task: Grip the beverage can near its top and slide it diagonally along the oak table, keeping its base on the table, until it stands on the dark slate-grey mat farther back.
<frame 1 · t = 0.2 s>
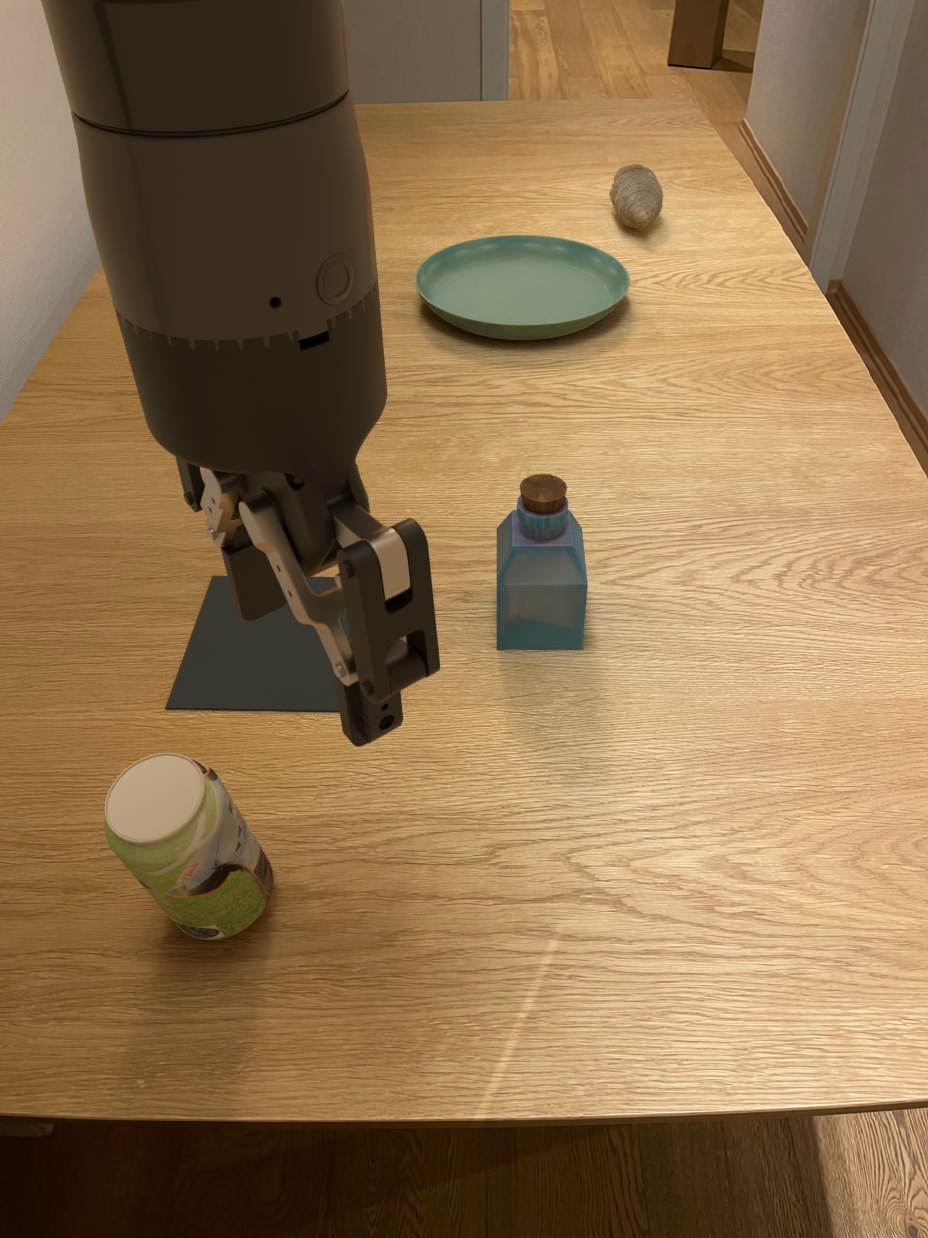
hand: (315, 666, 39), 22 cm above the table, tool pointing down, fingers open, 8 cm apart
saucer: (521, 304, 112), on the table
decorative egg: (282, 370, 102), on the table
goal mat: (284, 639, 72), on the table
seashell: (635, 222, 129), on the table
perfume bottle: (538, 621, 73), on the table
beverage can: (216, 909, 56), on the table
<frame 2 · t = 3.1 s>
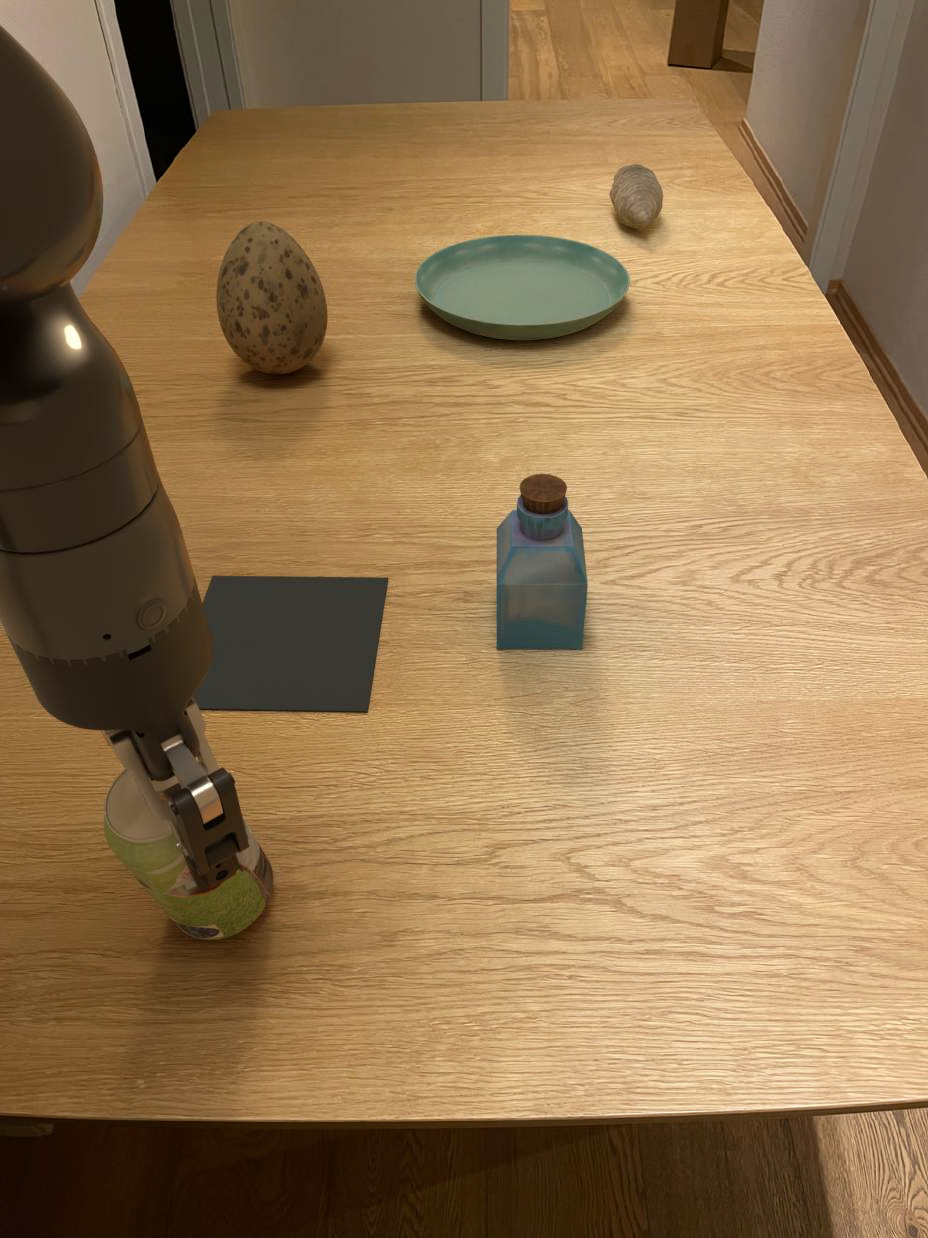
hand: (188, 832, 50), 8 cm above the table, tool pointing down, fingers closed on beverage can, 6 cm apart
beverage can: (216, 909, 56), on the table, touching gripper
everything else where it was.
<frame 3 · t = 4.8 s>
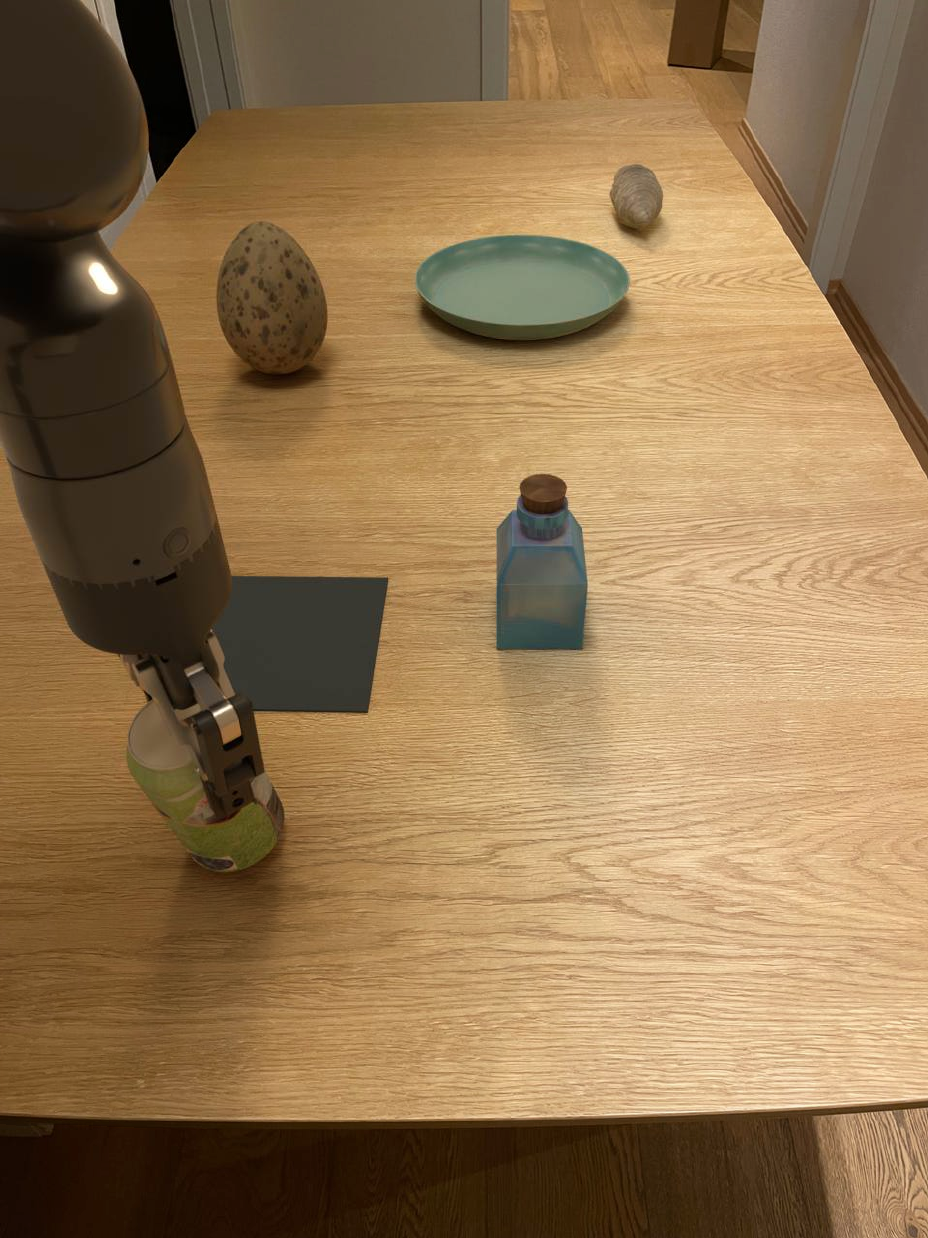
hand: (205, 766, 53), 8 cm above the table, tool pointing down, fingers closed on beverage can, 6 cm apart
beverage can: (230, 846, 59), on the table, touching gripper
everything else where it was.
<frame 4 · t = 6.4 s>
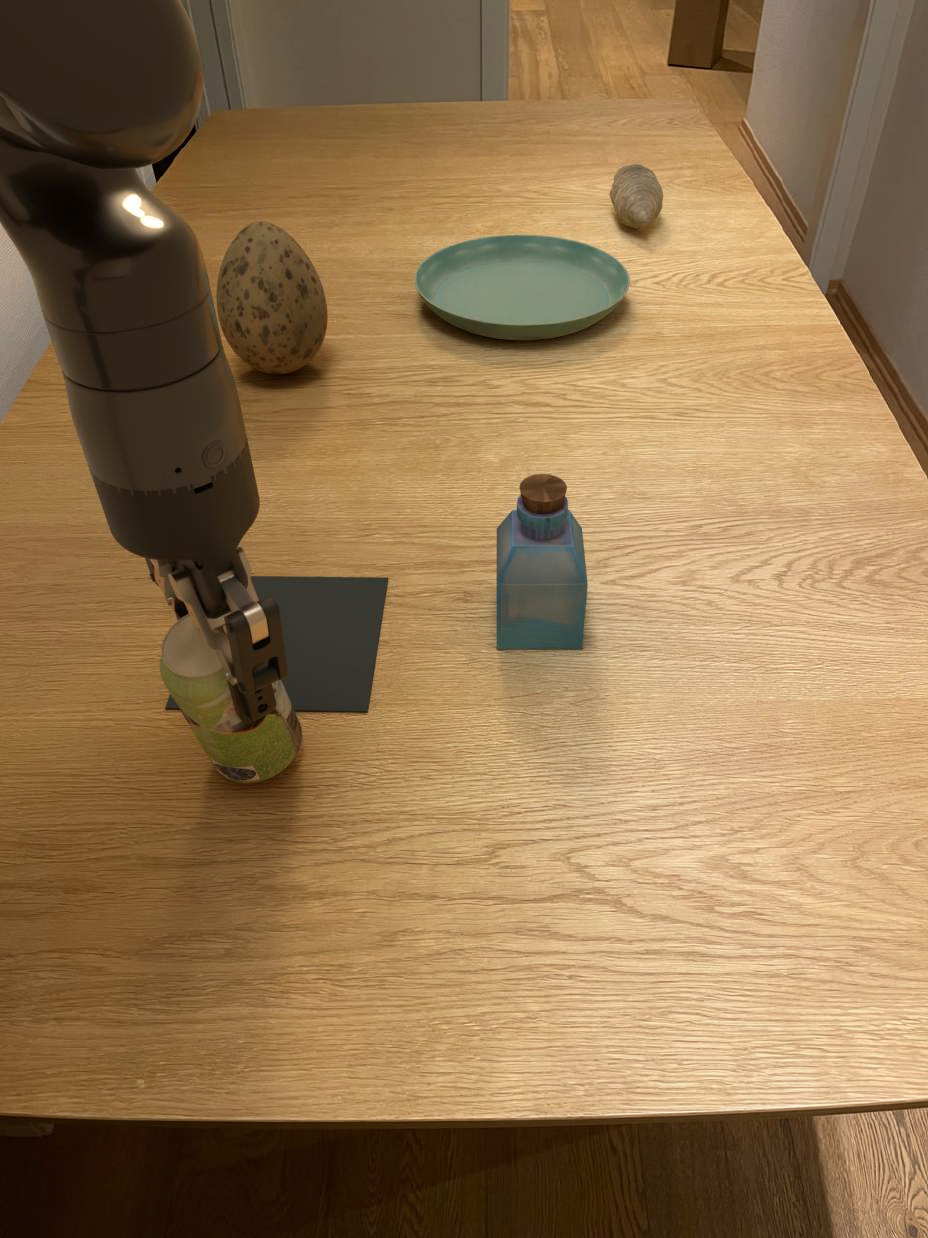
hand: (231, 680, 58), 8 cm above the table, tool pointing down, fingers closed on beverage can, 6 cm apart
beverage can: (251, 762, 63), on the table, touching gripper
everything else where it was.
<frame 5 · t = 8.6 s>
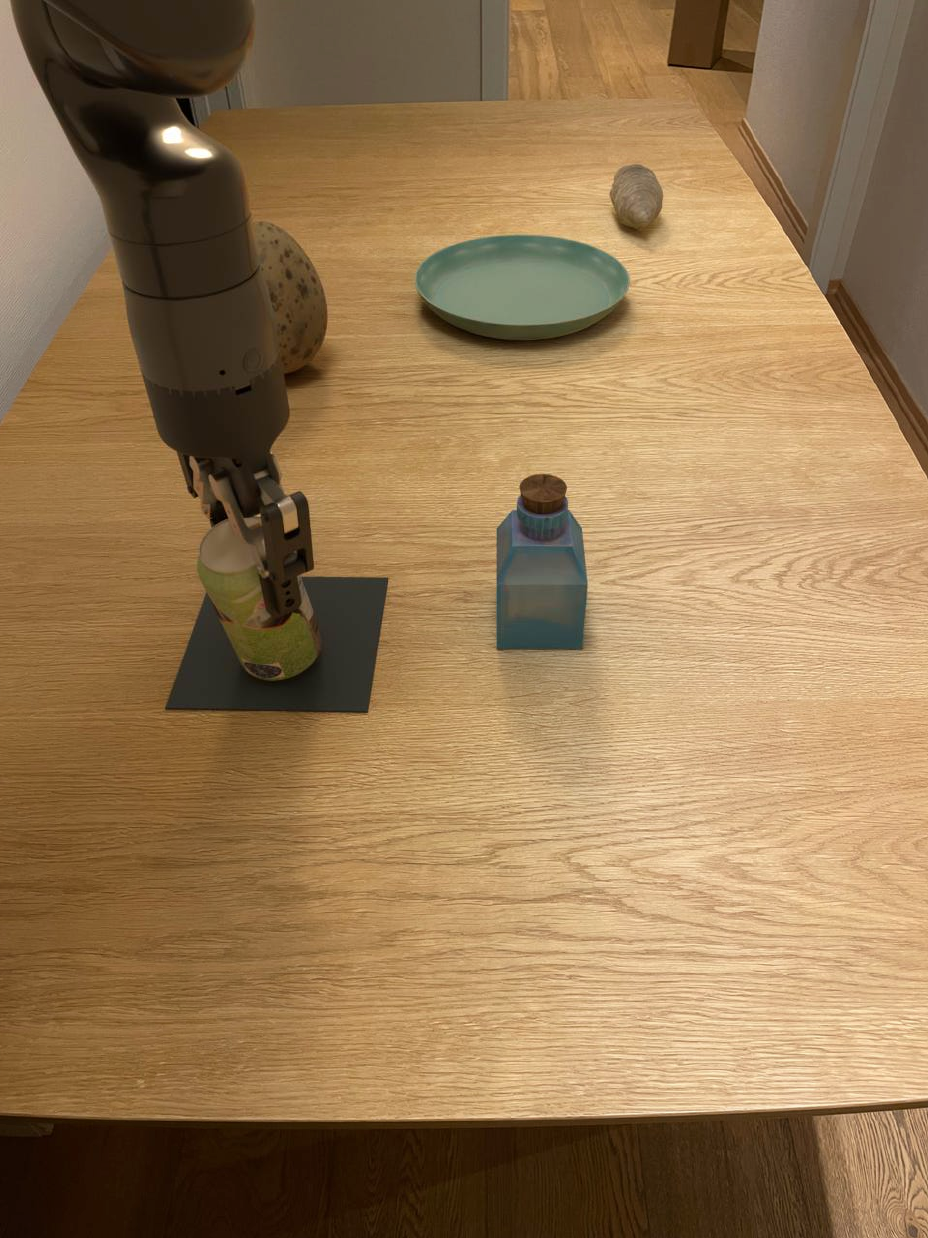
hand: (260, 583, 64), 8 cm above the table, tool pointing down, fingers closed on beverage can, 6 cm apart
beverage can: (276, 665, 70), resting on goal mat, touching gripper
everything else where it was.
when the fingers open (8 cm above the table, at t = 10.2 s): beverage can stays where it is, resting on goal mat.
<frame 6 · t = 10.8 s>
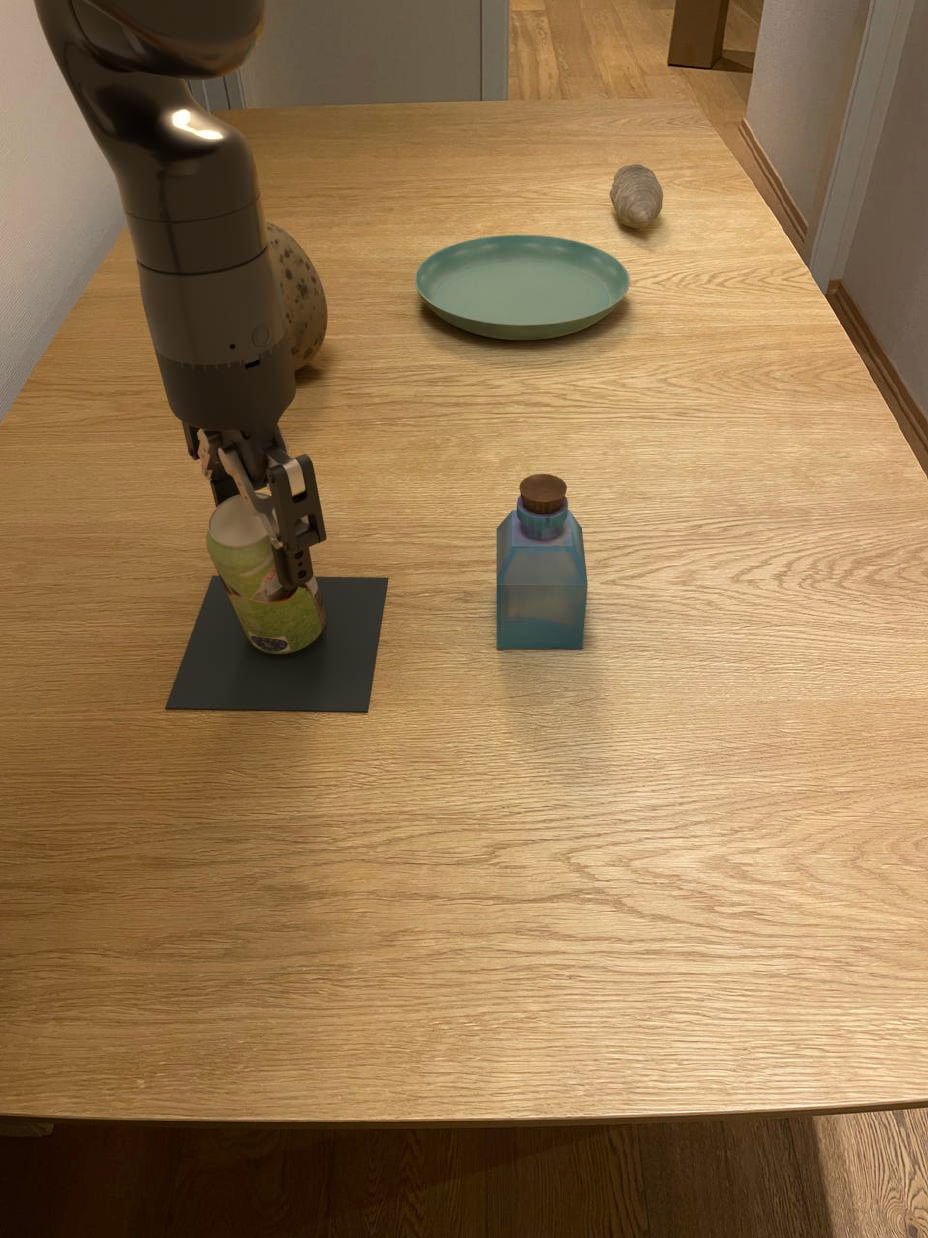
hand: (265, 550, 66), 8 cm above the table, tool pointing down, fingers open, 8 cm apart
beverage can: (282, 639, 72), resting on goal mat
everything else where it was.
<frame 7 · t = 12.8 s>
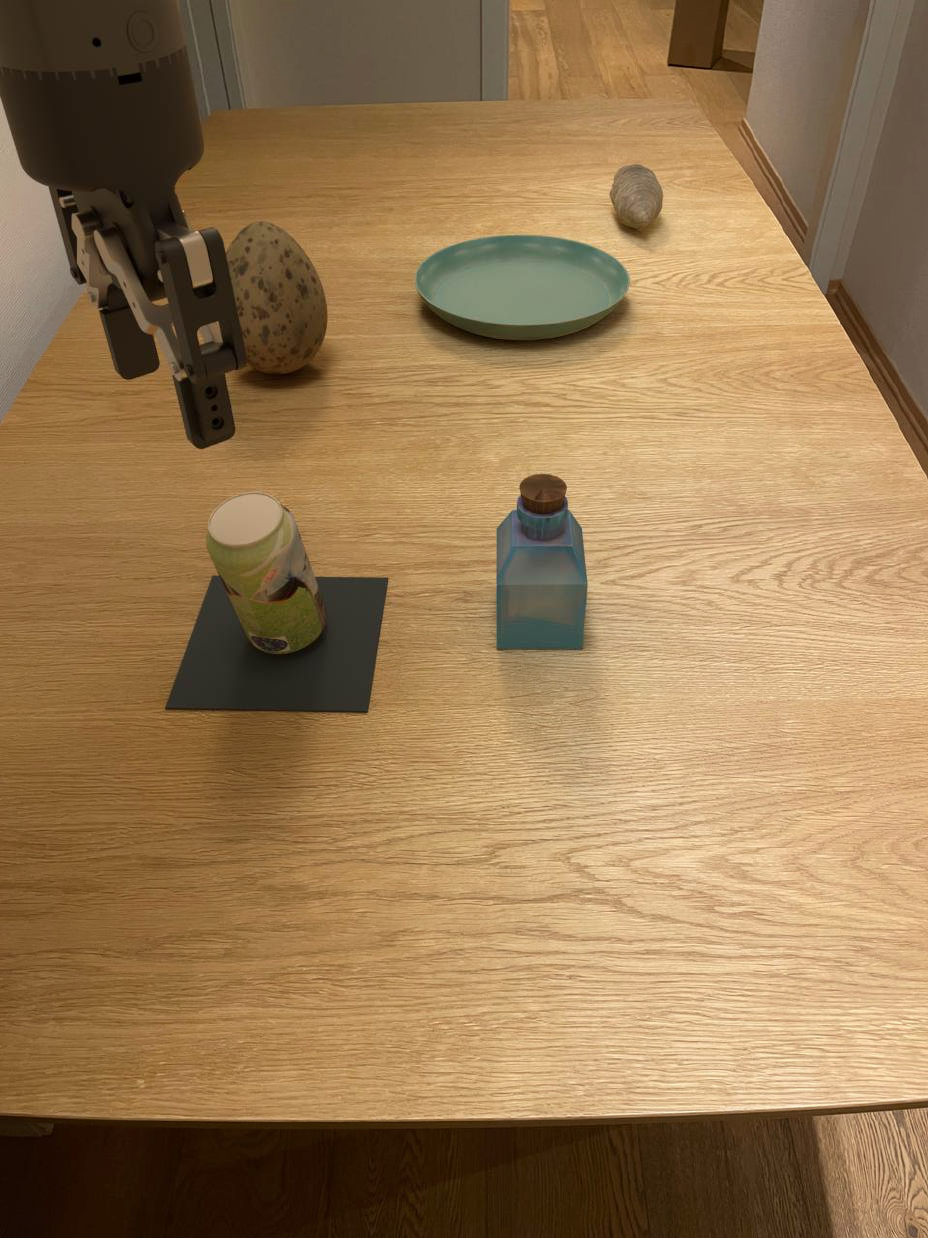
hand: (174, 405, 49), 24 cm above the table, tool pointing down, fingers open, 8 cm apart
nothing on the table moved.
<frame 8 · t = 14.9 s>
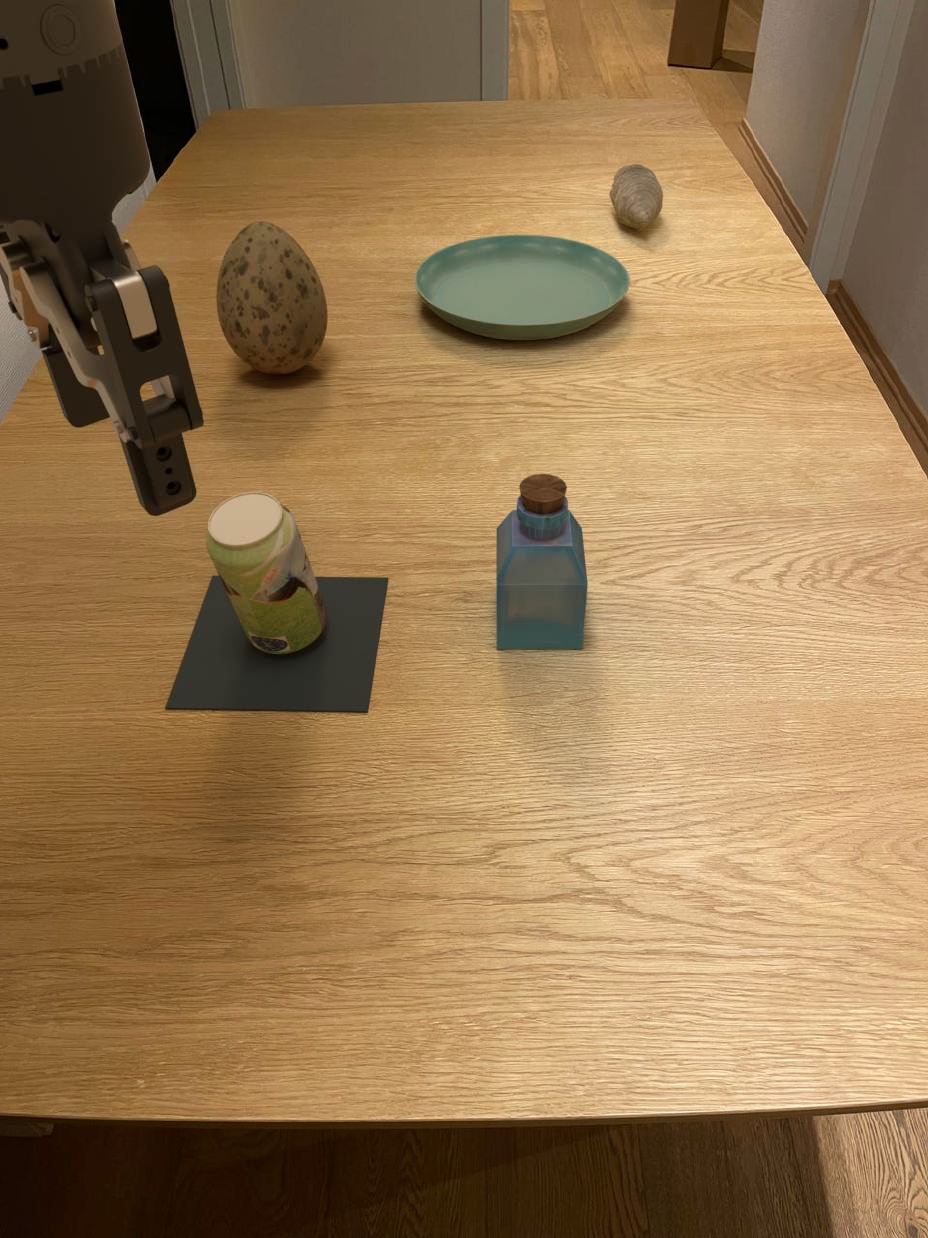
hand: (129, 460, 42), 26 cm above the table, tool pointing down, fingers open, 8 cm apart
nothing on the table moved.
at the end: beverage can inside the target area on the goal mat (0.1 cm from its centre), point 0.0 cm above the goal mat's base; beverage can tilted 0°; beverage can moved 22.0 cm from its start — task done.
